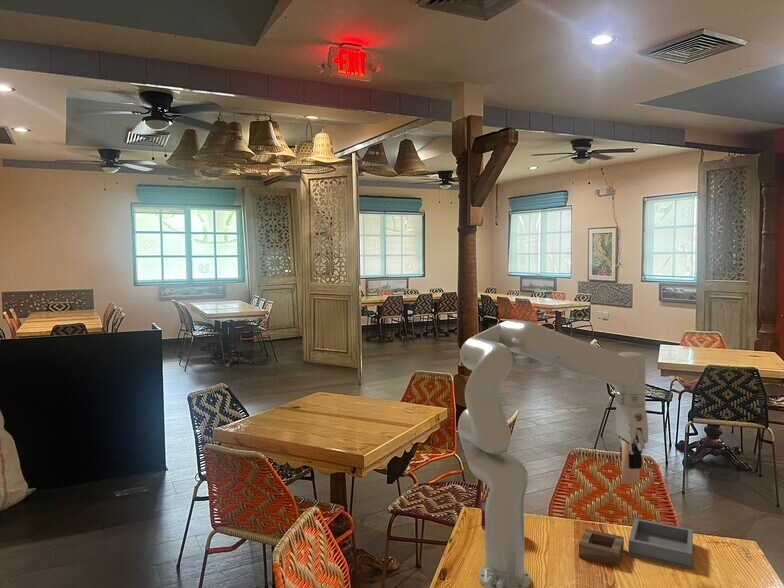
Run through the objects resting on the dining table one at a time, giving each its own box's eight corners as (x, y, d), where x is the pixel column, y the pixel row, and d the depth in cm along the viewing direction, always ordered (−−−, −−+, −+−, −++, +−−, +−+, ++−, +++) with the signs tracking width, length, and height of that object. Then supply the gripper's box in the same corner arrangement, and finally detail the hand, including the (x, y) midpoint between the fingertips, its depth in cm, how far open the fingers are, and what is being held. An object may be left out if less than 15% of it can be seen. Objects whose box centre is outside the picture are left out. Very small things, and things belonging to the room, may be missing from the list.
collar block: (618, 566, 143) (618, 553, 142) (578, 556, 147) (578, 544, 147) (623, 549, 151) (623, 536, 151) (585, 540, 156) (585, 528, 156)
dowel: (642, 484, 147) (642, 444, 147) (626, 485, 147) (626, 444, 147) (635, 478, 152) (634, 439, 151) (619, 478, 152) (618, 439, 151)
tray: (691, 569, 141) (692, 553, 141) (628, 554, 148) (628, 540, 148) (692, 543, 154) (693, 529, 154) (634, 531, 161) (634, 518, 161)
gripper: (659, 405, 140) (660, 476, 141) (629, 390, 157) (630, 453, 158) (630, 406, 140) (630, 477, 141) (603, 391, 157) (604, 454, 158)
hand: (630, 464), depth 149 cm, fingers closed on dowel, 4 cm apart
